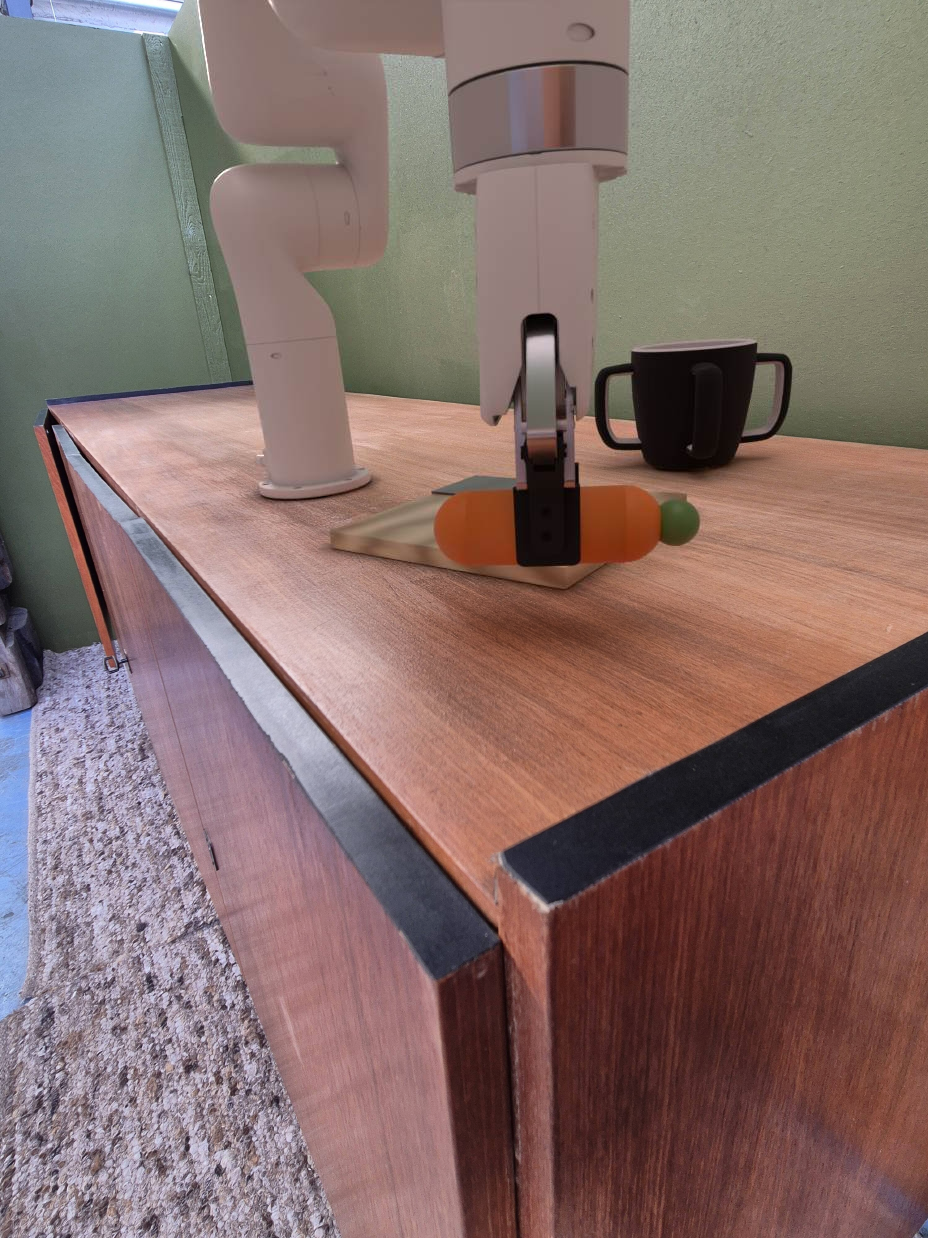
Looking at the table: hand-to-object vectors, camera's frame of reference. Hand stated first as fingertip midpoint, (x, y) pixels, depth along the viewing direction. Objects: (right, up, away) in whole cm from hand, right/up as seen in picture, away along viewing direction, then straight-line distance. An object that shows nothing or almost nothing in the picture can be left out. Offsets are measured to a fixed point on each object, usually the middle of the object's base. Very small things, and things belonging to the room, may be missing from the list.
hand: (549, 545), depth 38 cm
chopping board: (-1, +3, +21) cm, 21 cm away
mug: (+19, +13, +39) cm, 45 cm away
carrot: (0, -1, +1) cm, 1 cm away
